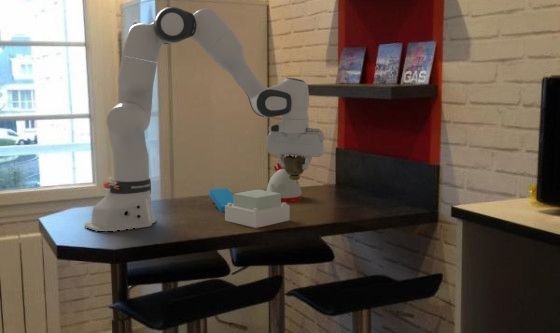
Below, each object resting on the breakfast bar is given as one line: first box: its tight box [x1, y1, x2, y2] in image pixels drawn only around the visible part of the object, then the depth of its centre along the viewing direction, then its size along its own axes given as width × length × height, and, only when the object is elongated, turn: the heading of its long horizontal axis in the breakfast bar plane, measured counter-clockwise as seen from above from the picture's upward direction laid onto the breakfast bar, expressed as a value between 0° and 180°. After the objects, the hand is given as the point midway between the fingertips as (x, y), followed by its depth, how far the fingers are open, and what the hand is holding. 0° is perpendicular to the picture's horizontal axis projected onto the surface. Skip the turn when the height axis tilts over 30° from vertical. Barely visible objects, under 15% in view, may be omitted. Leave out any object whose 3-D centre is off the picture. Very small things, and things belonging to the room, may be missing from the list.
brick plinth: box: [224, 189, 291, 229], centre depth 209 cm, size 15×15×9 cm
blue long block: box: [208, 187, 233, 213], centre depth 233 cm, size 7×7×18 cm
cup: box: [283, 155, 307, 181], centre depth 215 cm, size 8×7×8 cm
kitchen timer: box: [266, 162, 303, 203], centre depth 247 cm, size 14×14×15 cm
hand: (294, 168), depth 215 cm, fingers closed on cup, 7 cm apart
